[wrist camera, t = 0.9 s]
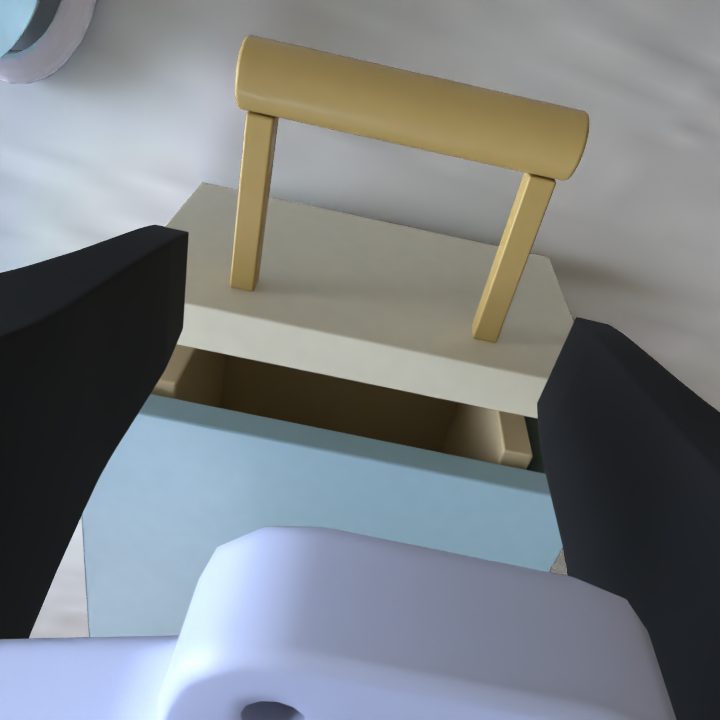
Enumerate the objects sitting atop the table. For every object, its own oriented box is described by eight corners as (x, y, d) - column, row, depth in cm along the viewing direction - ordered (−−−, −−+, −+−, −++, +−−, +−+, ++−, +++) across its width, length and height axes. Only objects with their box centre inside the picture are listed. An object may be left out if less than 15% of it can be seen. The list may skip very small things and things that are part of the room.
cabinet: (187, 243, 23) (73, 399, 15) (534, 317, 24) (589, 503, 16) (171, 550, 32) (95, 742, 25) (421, 598, 33) (421, 800, 25)
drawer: (213, -15, 18) (106, 16, 12) (619, 79, 18) (719, 156, 12) (181, 513, 29) (118, 667, 23) (429, 561, 30) (431, 724, 24)
